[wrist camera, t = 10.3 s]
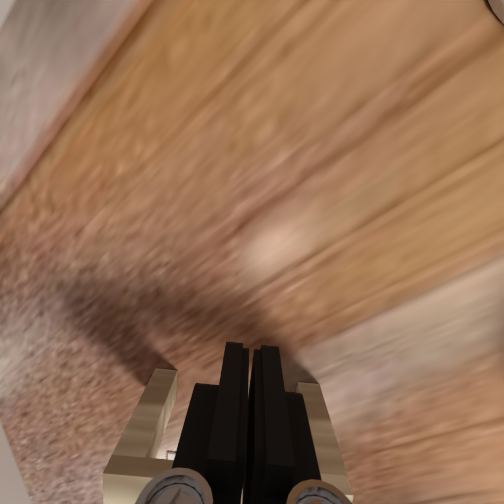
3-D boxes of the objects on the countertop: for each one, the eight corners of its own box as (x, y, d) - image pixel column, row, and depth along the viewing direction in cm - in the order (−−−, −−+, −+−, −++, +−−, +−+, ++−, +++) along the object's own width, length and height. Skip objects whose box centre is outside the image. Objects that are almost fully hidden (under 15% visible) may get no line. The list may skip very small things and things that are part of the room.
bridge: (155, 368, 27) (102, 473, 17) (319, 384, 27) (353, 495, 18) (154, 395, 28) (103, 510, 18) (314, 410, 28) (344, 531, 19)
